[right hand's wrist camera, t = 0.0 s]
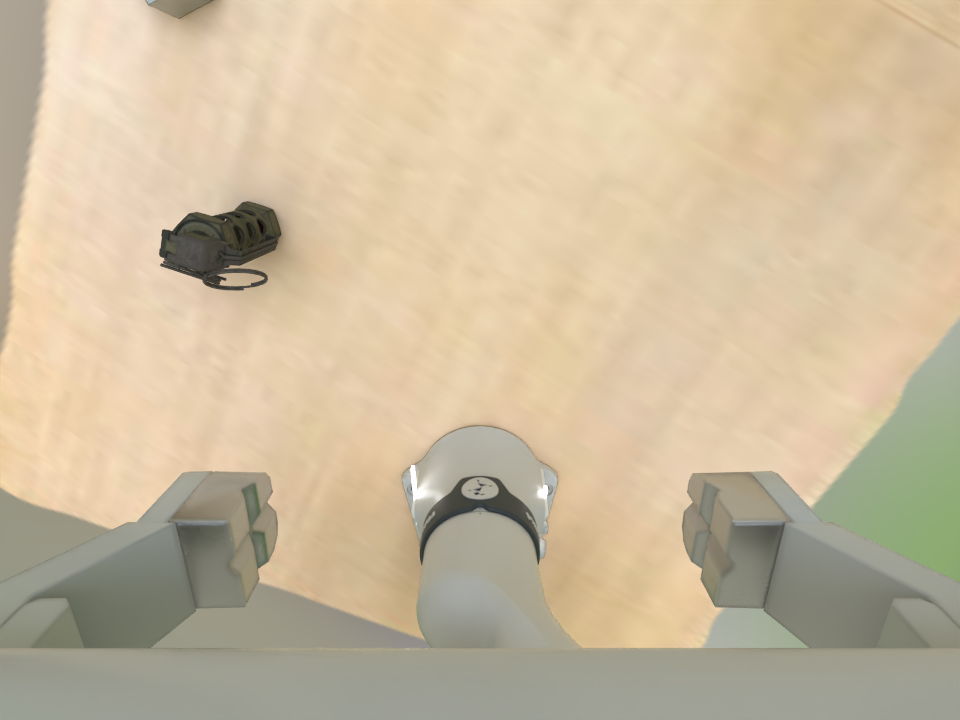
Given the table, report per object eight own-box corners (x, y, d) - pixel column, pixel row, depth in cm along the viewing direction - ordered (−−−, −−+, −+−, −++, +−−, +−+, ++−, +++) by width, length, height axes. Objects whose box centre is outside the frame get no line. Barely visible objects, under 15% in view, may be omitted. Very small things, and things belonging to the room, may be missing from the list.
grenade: (218, 249, 56) (132, 281, 42) (227, 194, 54) (140, 208, 40) (302, 276, 57) (245, 316, 43) (314, 222, 55) (258, 246, 41)
